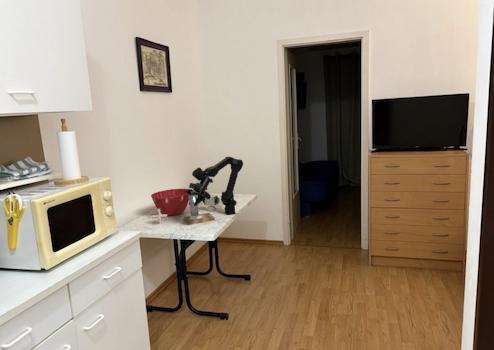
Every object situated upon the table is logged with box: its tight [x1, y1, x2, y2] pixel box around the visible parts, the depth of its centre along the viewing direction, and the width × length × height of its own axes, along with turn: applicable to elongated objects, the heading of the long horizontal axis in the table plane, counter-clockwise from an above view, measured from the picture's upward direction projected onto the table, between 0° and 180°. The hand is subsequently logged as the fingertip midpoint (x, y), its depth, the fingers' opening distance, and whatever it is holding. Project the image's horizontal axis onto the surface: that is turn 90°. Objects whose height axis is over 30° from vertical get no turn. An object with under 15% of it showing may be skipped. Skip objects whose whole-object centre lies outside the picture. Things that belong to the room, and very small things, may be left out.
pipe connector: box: [151, 208, 168, 225], centre depth 250 cm, size 10×10×10 cm
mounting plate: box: [183, 212, 216, 225], centre depth 253 cm, size 18×14×2 cm
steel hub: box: [188, 194, 200, 216], centre depth 239 cm, size 5×5×13 cm
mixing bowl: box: [150, 188, 189, 217], centre depth 274 cm, size 28×28×16 cm
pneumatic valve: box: [202, 194, 221, 212], centre depth 274 cm, size 6×12×12 cm, turn 70°
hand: (191, 205), depth 238 cm, fingers closed on steel hub, 5 cm apart
